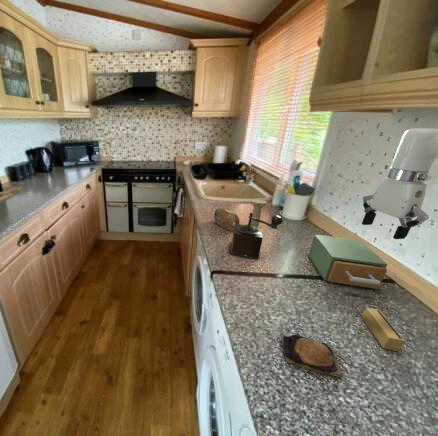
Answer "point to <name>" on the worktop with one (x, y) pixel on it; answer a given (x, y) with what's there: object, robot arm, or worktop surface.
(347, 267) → the drawer
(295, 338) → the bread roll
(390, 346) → the wooden block
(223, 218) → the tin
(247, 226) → the manual coffee grinder
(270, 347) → the worktop surface
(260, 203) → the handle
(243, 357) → the worktop surface
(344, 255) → the cabinet
